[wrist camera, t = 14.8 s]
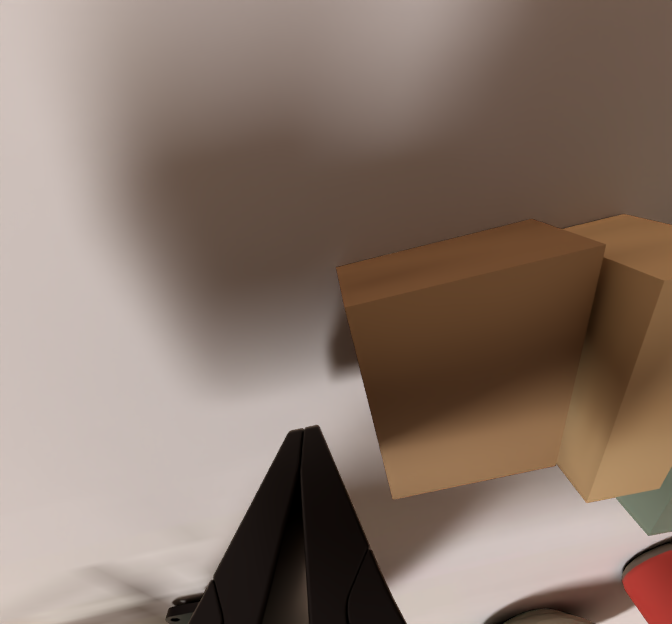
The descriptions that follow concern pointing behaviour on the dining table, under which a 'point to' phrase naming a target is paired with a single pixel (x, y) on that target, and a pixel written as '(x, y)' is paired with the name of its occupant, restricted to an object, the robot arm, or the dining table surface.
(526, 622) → the air freshener
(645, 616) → the beer can
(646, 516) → the tray
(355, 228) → the dining table surface
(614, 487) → the block
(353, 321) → the tan wooden block
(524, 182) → the dining table surface
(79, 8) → the dining table surface
